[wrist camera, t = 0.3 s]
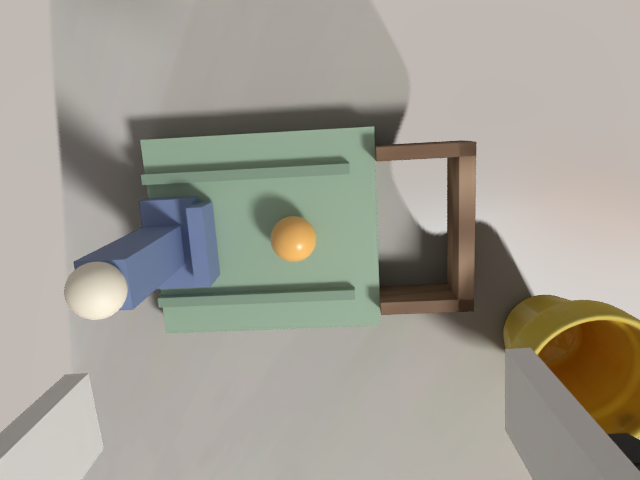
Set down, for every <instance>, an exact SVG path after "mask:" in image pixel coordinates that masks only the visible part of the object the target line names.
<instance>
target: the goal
mask: <svg viewBox="0 0 640 480" xmlns="http://www.w3.org/2000/svg"><path fill="white" fill-rule="evenodd" d="M445 157H448V164H447V167H448V168H447V169H448V171H447V172H448V175H447V176H448V177H447V181H448V185H447V187H448V190H447V198H448V199H447V202H448V203H447V204H448V205H447V206H448V207H447V213H448V215H447V218H448V219H447V222H448V223H447V284H433V285H409V286H385V287H379V296H380V311H381V315H391V314H417V313H442V312H468V311H474V271H475V196H476V142H472V141H446V142H428V143H412V144H411V143H410V144H392V145H375V160H376V161H391V160H410V159H427V158H445Z"/></svg>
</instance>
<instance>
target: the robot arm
mask: <svg viewBox="0 0 640 480" xmlns="http://www.w3.org/2000/svg"><path fill="white" fill-rule="evenodd" d="M505 430H506V432H507V434H508V435H509V437H510V439H511V441H512V443H513V444H514V446H515V448H516V450H517V452H518V453H519V455H520V457H521V459H522V461H523V462H524V464H525V466H526V468H527V470H528V471H529V473H530V475H531V477H532V479H533V480H640V440H639V439H637V438H635V437H634V436H632V435H630V434H628V433H615V434H606V433H605V431H604V430H603V429H602V428H601V427H600V426H599V425H598V423H597V422H596V421H595V420H594V419H593V418H592V417H591V416H590V414H589V413H588V412H587V411H586V410H585V409H584V408H583V406H582V405H581V404H580V403H579V402H578V401H577V400H576V398H575V397H574V396H573V395H572V394H571V393H570V392H569V391H568V389H567V388H566V387H565V386H564V385H563V384H562V383H561V381H560V380H559V379H558V378H557V377H556V376H555V375H554V374H553V372H552V371H551V370H550V369H549V368H548V367H547V366H546V364H545V363H544V362H543V361H542V360H541V359H540V358H539V356H538V355H537V354H536V353H535V352H534V351H533V350H532V349H531V348H515V349H505ZM102 451H103V444H102V439H101V434H100V429H99V424H98V419H97V414H96V409H95V404H94V399H93V394H92V389H91V384H90V379H89V374H88V373H85V374H68V375H64V376H63V377H62V378H61V379H60V380H59V381H58V382H57V383H55V384H54V385H53V386H52V387H51V388H50V389H49V390H48V391H46V392H45V393H44V394H43V395H42V396H41V397H40V398H39V399H38V400H36V401H35V402H34V403H33V404H32V405H31V406H30V407H29V408H28V409H26V410H25V411H24V412H23V413H22V414H21V415H20V416H19V417H18V418H16V419H15V420H14V421H13V422H12V423H11V424H10V425H9V426H7V427H6V428H5V429H4V430H3V431H2V432H1V433H0V480H81V479H82V478H83V476H84V475H85V474H86V472H87V471H88V470H89V468H90V467H91V466H92V464H93V463H94V462H95V460H96V459H97V457H98V456H99V455H100V453H101V452H102Z"/></svg>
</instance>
